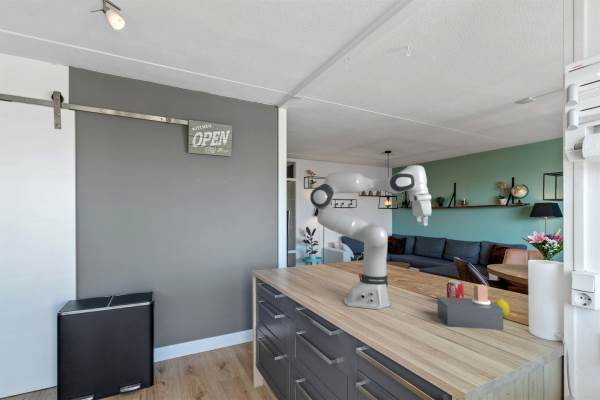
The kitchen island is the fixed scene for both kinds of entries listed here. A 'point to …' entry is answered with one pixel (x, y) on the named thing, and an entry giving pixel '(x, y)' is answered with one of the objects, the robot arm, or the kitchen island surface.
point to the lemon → (503, 305)
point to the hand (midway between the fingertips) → (422, 225)
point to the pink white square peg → (480, 295)
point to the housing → (469, 313)
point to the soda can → (455, 289)
